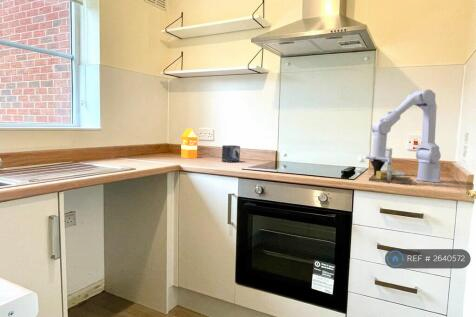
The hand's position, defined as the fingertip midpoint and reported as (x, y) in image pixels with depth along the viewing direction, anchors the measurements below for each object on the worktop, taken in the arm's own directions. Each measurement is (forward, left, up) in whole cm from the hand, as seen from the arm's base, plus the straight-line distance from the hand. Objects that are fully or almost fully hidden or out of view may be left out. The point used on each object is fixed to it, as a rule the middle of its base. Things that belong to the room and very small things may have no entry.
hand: (376, 175), depth 153 cm
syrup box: (-1, -28, -3) cm, 29 cm away
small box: (+89, -15, -3) cm, 91 cm away
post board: (-6, -6, -2) cm, 9 cm away
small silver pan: (-5, -4, -1) cm, 6 cm away
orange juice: (+123, -15, -3) cm, 125 cm away
